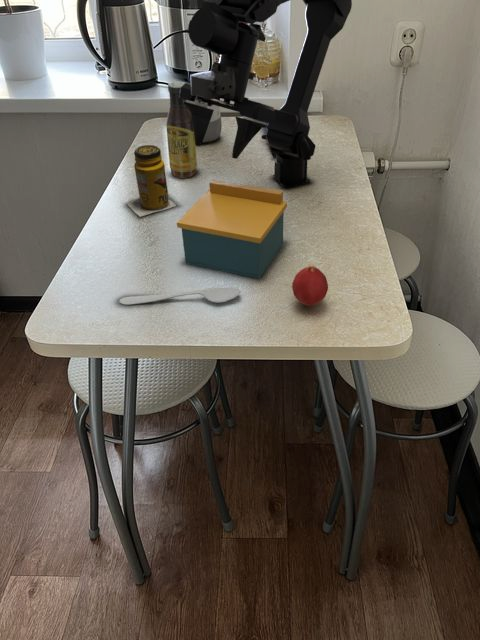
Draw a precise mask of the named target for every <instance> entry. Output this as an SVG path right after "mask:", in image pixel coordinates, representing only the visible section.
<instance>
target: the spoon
mask: <svg viewBox="0 0 480 640" xmlns="http://www.w3.org/2000/svg"><path fill="white" fill-rule="evenodd" d="M241 293H242V290H241V289H240V288H239V287H235V286H233V287H231V286H229V287H228V286H227V287H211V288H210V287H209V288H205V289H197V290H191V291H183V292H173V293H160V294H150V295H149V294H147V295H134V296H125V297H123V298H121V299H119V301H118V302H119V303H120V304H121V305H126V306H129V305H131V306H132V305H141V304H147V303H155V302H159V301H165V300H169V299H172V298H177V297H184V296H190V295H191V296H192V295H201V296H202V297H204V299H206V300H208V301H209V302H212V303H216V304H217V303H219V304H220V303H225V302H228V301H231V300H233V299H235V298H237V297H238V296H239V295H240V294H241Z"/></svg>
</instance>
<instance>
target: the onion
mask: <svg viewBox="0 0 480 640" xmlns="http://www.w3.org/2000/svg"><path fill="white" fill-rule="evenodd" d="M327 280H328V279H327V277H326V275H325V274H324V272H323V271H321V270H320V269H319V268H317V267H315V266H314V265H313V264H309V265H308V266H306V267H304V268H302V269H300V270H299V271H298V272H297V273H296V274H295V276H294V277H293V281H292V283H291V289H292V294H293V296H294V298H295V299H296V300H297V301H298V302H300V303H301V304H303V305H305V306H306V307H312V306H314V305H316V304H318V303H320V302H322V301H323V300H324V299H325V298H326V296H327V294H328V290H329V284H328V281H327Z"/></svg>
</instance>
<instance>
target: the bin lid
mask: <svg viewBox="0 0 480 640" xmlns="http://www.w3.org/2000/svg"><path fill="white" fill-rule="evenodd" d="M287 208H288V201H285V200H284V191H283V190H279V189H273V188H266V187H261V186H254V185H249V184H242V183H237V182H231V181H225V180H218V179H212V180H210V182H209V189H208V190H207V191H206V192H205V193H204V194H203V195H202V196H201V197H200V198H199V199H198V200H197V201H196V202H195V203H194V204H193V205H192V206H191V207H190V208H189V209H188V210H187V211H186V213H184V214H183V215H182V217H180V218H179V219H178V221H176V226H177V228H178V229H181V228H182V229H188V230H193V231H198V232H203V233H208V234H214V235H219V236H224V237H229V238H235V239H240V240H245V241H250V242H255V243H261V242H262V240H263V239H264V238H265V236H266V235H267V234H268V232H269V231H270V229H271V228H272V227H273V225H274V224H275V223H276V221H277V220H278V218H279V217H280V216H281V214H282V213H283V212H285V211H286V209H287ZM283 214H284V213H283ZM182 229H181V230H182Z"/></svg>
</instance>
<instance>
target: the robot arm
mask: <svg viewBox="0 0 480 640" xmlns="http://www.w3.org/2000/svg"><path fill="white" fill-rule="evenodd" d="M290 1H291V0H218V2H217V3H216V2H215V1H211V0H203V1H202V7H201V8H199V9H197V11H195V13H194V14H193V15H192V17H191V18H190V20H189V23H188V28H187V31H188V32H187V33H188V37H189V40H190V42H191V43H192V44H193V45H194V46H196V47H199V48H201V49H204V50H205V51H209V52H211V53H212V54H216V55H219V60H218V62H217V61H214V62H213V64H212V65H211V68H210V70H208V71H202V72H197V73H192V74H190V83H186V82H185V84H184V85H183V86H182V87H181V89H180V94H179V98H182V99H185V100H186V102H184V101H183V103H184V105H186V106H187V107H188V109H189V111H190V112H191V116H192V121H193V129H194V138H195V145H196V147H201V146H202V144H203V143H202V142H203V139H204V137H205V134H206V131H207V128H208V125H209V123H210V120H211V117H212V114H213V111H214V110H212V109H209V108H207V106H210V107H211V106H212V105H216V106H219V108H223V109H227V110H231V111H234V112H238V113H239V115H240V116H242V117H239V116H235V120H236V126H237V129H236V134H235V138H234V143H233V148H232V153H231V158H232V159H238V158H239V157H240V155H241V154H242V153H243V151H244V150H245V149H246V147H247V146H248V145H249V143H250V142H251V141H252V139H254V137H255V136H256V135H258V133H259V132H260V131H261V130H263V127H264V128H266V127H267V129H268V130H267V140H268V142H267V145H268V144H269V145H268V147H269V151H270V153H271V152H272V153H276V157H275V158H276V159H275V161H274V174H273V175H272V179H273V180H275V181H276V182H278V184H279V185H281V186H282V187H283V188H284V189H289V188H294V187H297V186H301V185H305V184H306V185H307V184H310V183H311V179H310V178H309V177H308V161H310V160H311V159H312V156H314V154H315V150H316V144H315V143H314V141H313V140H312V139H311V137H309V133H310V129H311V126H310V120H309V116H308V115H309V114H308V111H309V108H310V104H311V101H312V99H313V96H314V93H315V89H316V86H317V84H318V81H319V77H320V74H321V71H322V68H323V66H324V65H323V64H324V62H325V60H326V55H327V53H328V49H329V46H330V43H331V41H332V40H333V39H334V38H335V37H336V36H337V35H338V34H339V33H340V31H342V30H343V28H344V26H345V24H346V21H347V20H348V17H349V15H350V13H351V11H352V5H353V3H352V0H302V2H303V3H304V5H305V6H306V8H305V13H304V17H305V22H306V28H307V29H306V30H307V32H306V35H305V39H304V42H303V46H302V48H301V51H300V55H299V58H298V62H297V65H296V68H295V71H294V75H293V77H292V81H291V84H290V86H289V90H288V94H287V96H286V100H285V102H284V104H283V105H282V106H281V107H280V108H279V109H276V108H275V107H273V106H271V105H268V104H264V103H262V102H259V101H254V100H250V99H249V97H246V92H247V86H248V83H249V80H251V81H254V77H255V73H252V72H251V70H252V66H253V61H254V58H255V53H256V49H257V44H258V42H264V43H265V42H266V35H265V33H264V32H263V30H262V26H261V24H258V23H264V22H266V21H267V20H268V19H270V18H271V17H272V16H274V15H275V14H276V12H277V11H278V7H279V6H280V5H282V4H285V3H287V2H290ZM231 102H233V103H231ZM265 122H266V123H269V124H268V126H267V125H264V124H265ZM267 140H266V141H267Z"/></svg>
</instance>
